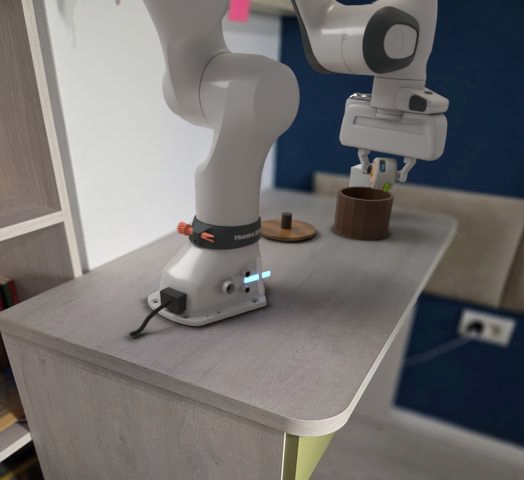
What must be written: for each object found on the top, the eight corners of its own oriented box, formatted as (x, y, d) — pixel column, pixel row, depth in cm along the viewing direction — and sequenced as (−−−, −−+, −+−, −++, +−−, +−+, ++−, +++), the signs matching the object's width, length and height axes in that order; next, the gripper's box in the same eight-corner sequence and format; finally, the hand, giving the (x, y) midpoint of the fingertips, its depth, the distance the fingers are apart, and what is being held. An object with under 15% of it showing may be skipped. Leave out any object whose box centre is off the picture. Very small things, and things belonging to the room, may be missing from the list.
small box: (357, 208, 145) (363, 162, 138) (377, 213, 142) (385, 165, 135) (344, 215, 139) (350, 166, 132) (365, 219, 136) (372, 170, 129)
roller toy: (370, 192, 94) (375, 160, 91) (365, 184, 99) (370, 154, 96) (393, 193, 94) (399, 161, 91) (388, 186, 99) (393, 155, 96)
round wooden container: (369, 244, 120) (375, 204, 115) (323, 230, 127) (327, 192, 122) (397, 231, 129) (404, 194, 123) (352, 219, 136) (357, 183, 131)
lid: (289, 247, 116) (291, 227, 113) (244, 232, 124) (244, 212, 121) (326, 233, 125) (328, 214, 122) (282, 220, 133) (283, 201, 130)
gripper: (338, 91, 92) (329, 169, 99) (442, 103, 81) (423, 190, 88) (356, 91, 96) (347, 166, 103) (458, 102, 85) (439, 185, 92)
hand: (383, 177), depth 95 cm, fingers closed on roller toy, 6 cm apart
